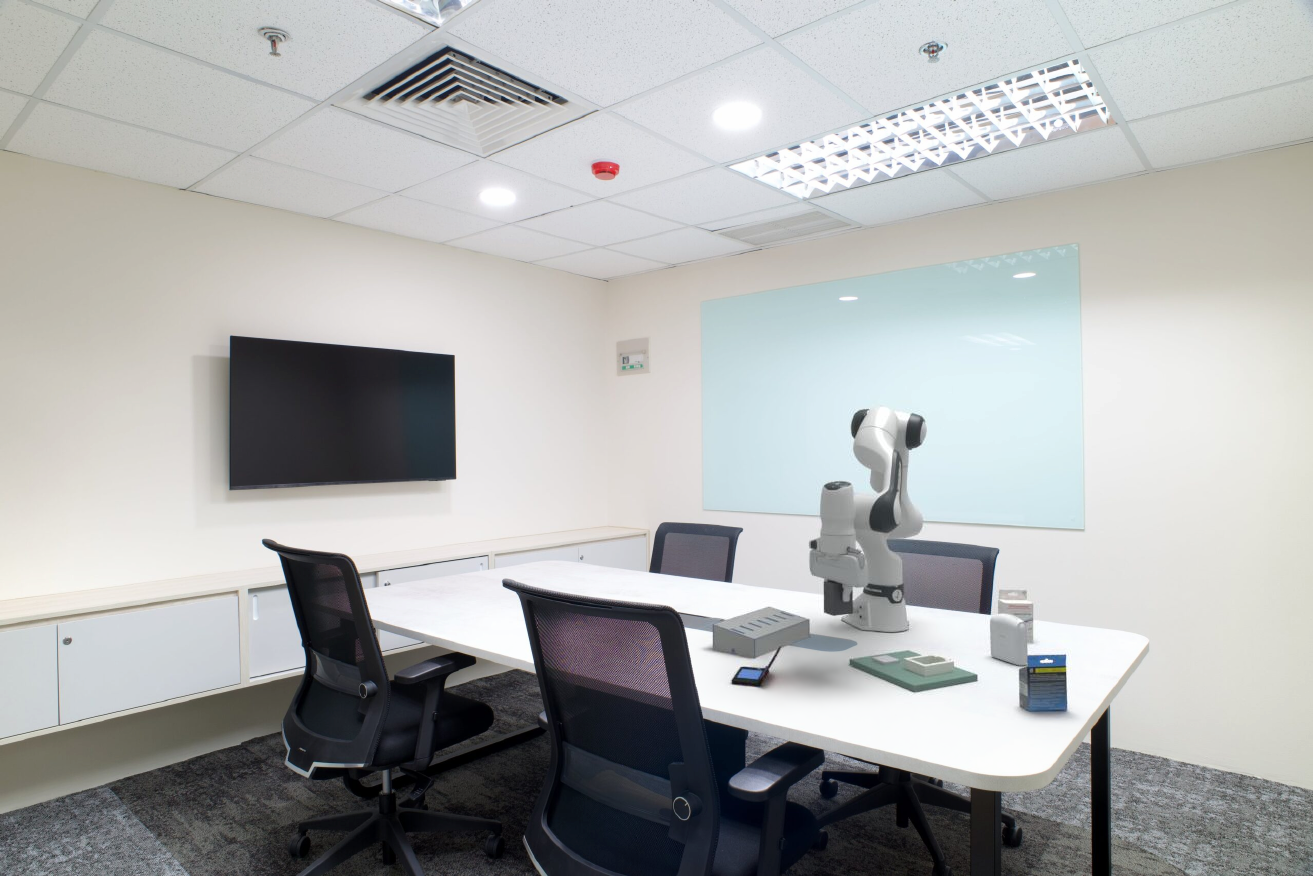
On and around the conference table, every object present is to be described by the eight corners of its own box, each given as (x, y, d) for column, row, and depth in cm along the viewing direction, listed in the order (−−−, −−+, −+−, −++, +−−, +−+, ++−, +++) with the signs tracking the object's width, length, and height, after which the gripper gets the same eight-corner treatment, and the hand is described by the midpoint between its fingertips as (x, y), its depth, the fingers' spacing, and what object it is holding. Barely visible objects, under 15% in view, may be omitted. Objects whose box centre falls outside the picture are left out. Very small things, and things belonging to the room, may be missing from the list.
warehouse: (754, 660, 203) (754, 632, 203) (712, 650, 212) (712, 624, 212) (809, 637, 226) (809, 613, 226) (769, 630, 235) (769, 606, 235)
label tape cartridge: (1057, 704, 165) (1057, 649, 165) (1068, 711, 161) (1067, 654, 162) (1018, 705, 165) (1018, 650, 165) (1028, 712, 161) (1027, 655, 161)
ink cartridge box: (1003, 642, 217) (1003, 592, 217) (997, 638, 222) (997, 589, 222) (1034, 643, 216) (1033, 592, 217) (1027, 638, 221) (1026, 589, 222)
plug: (823, 612, 190) (823, 581, 190) (846, 610, 193) (845, 579, 193) (833, 616, 187) (833, 584, 187) (855, 613, 189) (855, 582, 189)
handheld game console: (740, 670, 193) (740, 641, 193) (782, 674, 190) (781, 645, 190) (730, 685, 181) (729, 655, 181) (774, 689, 178) (773, 658, 178)
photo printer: (987, 656, 203) (987, 611, 203) (1000, 655, 205) (999, 610, 205) (1018, 667, 193) (1017, 619, 194) (1030, 665, 195) (1029, 618, 195)
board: (849, 664, 196) (849, 649, 196) (908, 655, 204) (908, 641, 204) (914, 692, 174) (914, 675, 174) (977, 680, 182) (977, 664, 182)
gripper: (874, 549, 181) (875, 606, 181) (824, 539, 200) (825, 590, 200) (853, 551, 179) (854, 608, 179) (805, 541, 198) (805, 592, 198)
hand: (838, 599), depth 190 cm, fingers closed on plug, 4 cm apart
